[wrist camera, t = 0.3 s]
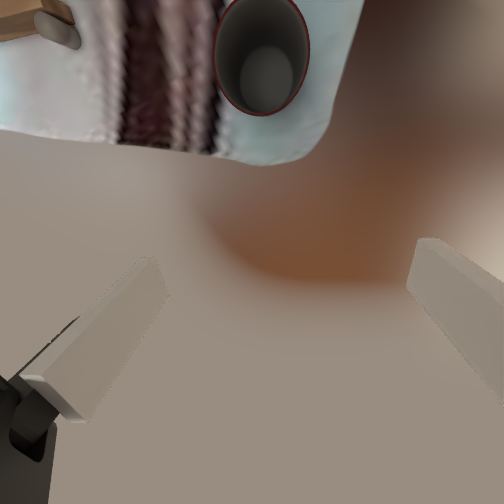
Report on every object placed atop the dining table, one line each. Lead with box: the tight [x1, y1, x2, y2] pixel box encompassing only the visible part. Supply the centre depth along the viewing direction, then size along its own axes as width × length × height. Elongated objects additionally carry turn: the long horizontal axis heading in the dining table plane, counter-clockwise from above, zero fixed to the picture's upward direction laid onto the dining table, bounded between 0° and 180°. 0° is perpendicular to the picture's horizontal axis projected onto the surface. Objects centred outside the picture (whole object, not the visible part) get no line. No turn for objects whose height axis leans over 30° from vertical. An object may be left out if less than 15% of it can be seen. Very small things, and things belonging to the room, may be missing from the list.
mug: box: [213, 0, 310, 116], centre depth 24 cm, size 12×9×11 cm
